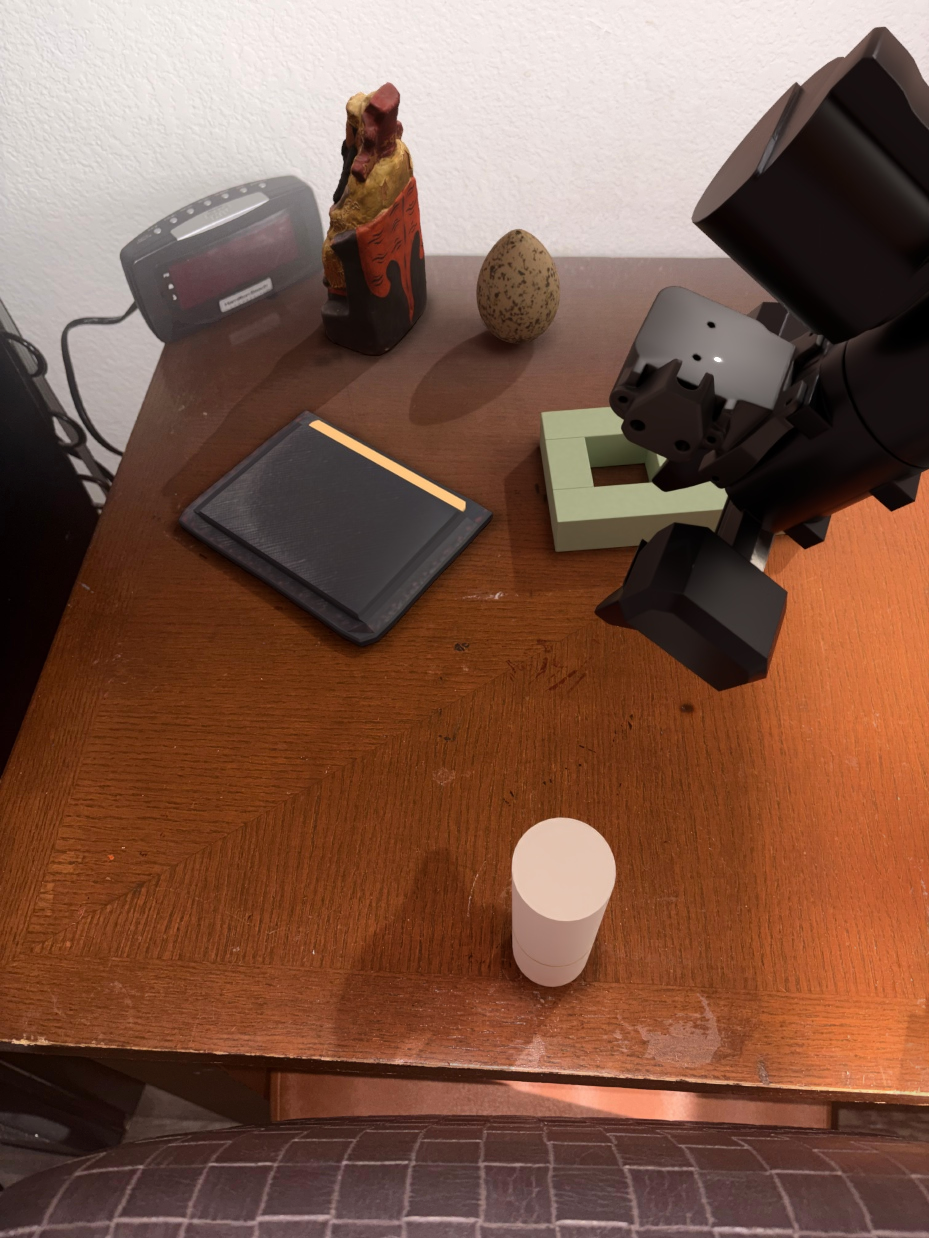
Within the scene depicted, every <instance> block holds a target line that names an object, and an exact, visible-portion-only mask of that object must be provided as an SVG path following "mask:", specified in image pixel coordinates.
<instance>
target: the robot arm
mask: <svg viewBox="0 0 929 1238" xmlns="http://www.w3.org/2000/svg"><path fill="white" fill-rule="evenodd" d="M691 223H692V224H693V225H695V226H696V228H697V229H698V230H700V232H702V233H703V234H704V235H705V236H706V237H707V238H708V239H710V240H711V241H712V242H713V243H714V244H715V245H716V246H717V247H718V248H719V249H720V250H722V251H723V253H725V254H726V255H727V256H728V257H729V258H730V259H731V260H732V261H733V262H734V263H736V265H738V266H739V268H740V269H742V270H743V271H744V272H745V273H746V274H747V275H748V276H750V277H751V279H753V280H754V282H756V284H758V285H759V286H760V287H761V288H762V289H763V290H765V292H767V293H768V294H769V295H770V296H771V297H772V298H773V299H774V300H775V301H762V302H761V303H760V304H758V305H757V306H756V307H754V308H753V309H752V310H751V311H750V312H749V313H747V314H744V313H742V312H740V311H738V310H736V309H733V308H732V307H729V306H726V305H724V304H723V303H720V302H718V301H715V300H713V299H711V298H708V297H707V296H704V295H702V294H700V293H698V292H695V291H694V290H691V289H688V288H686V287H683V286H678V285H677V286H676V285H671V286H666V287H664V288H662V289H660V291H658V292H657V294H656V296H655V297H654V300H653V302H652V304H651V306H650V308H649V310H648V311H647V314H646V316H645V317H644V320H643V322H642V323H641V325H640V328H639V330H638V332H637V333H636V336H635V338H634V339H633V342H632V344H631V347H630V349H629V351H628V353H627V356H626V358H625V360H624V362H623V364H622V367H621V368H620V372H619V373H618V375H617V378H616V380H615V383H614V384H613V387H612V389H611V392H610V394H609V397H608V404H609V407H611V409H612V410H613V412H614V413H615V414H616V415H617V416H618V417H620V418H621V419H623V420H624V421H623V423H622V425H621V430H622V432H623V434H624V436H625V438H626V439H627V440H628V441H630V442H632V443H634V444H636V445H638V446H640V447H643V448H645V449H647V450H649V451H651V452H653V453H656V454H658V455H660V456H662V457H664V458H667V459H666V460H665V461H664V463H663V464H662V465H661V466H660V468H659V469H658V470H657V471H656V473H655V474H654V475H653V478H652V483H653V484H654V485H655V486H656V487H658V488H659V489H660V490H661V491H663V492H670V491H675V490H679V489H684V488H689V487H693V486H696V485H699V484H703V483H706V482H712V483H713V484H714V485H715V486H716V487H718V488H720V489H724V488H725V492H726V494H727V495H728V496H727V499H726V502H725V505H724V507H723V510H722V513H721V515H720V518H719V521H718V524H717V526H716V529H715V532H713V531H712V530H711V529H710V528H709V527H705V526H698V525H691V524H685V523H678V522H674V523H672V524H670V525H668V526H667V527H665V528H663V529H661V530H660V531H658V532H657V533H656V534H655V535H654V536H653V537H652V538H651V540H650V541H649V542H647V541H645V540H644V539H641V541H640V544H639V546H637V549H636V551H635V553H634V556H633V558H632V561H631V563H630V565H629V568H628V570H627V573H626V575H625V577H624V579H623V582H622V585H621V586H619V587H618V588H617V589H615V590H614V591H613V592H611V593H610V594H609V595H607V596H606V597H605V598H604V599H603V600H602V601H600V602H599V603H598V605H596V607H595V609H594V611H593V613H594V615H595V616H596V617H598V619H600V620H602V621H603V622H604V623H606V624H608V625H610V626H614V627H619V628H624V629H628V630H633V631H637V632H638V633H640V634H641V635H642V636H644V637H645V638H646V639H648V640H649V641H650V642H652V643H653V644H654V645H656V646H657V647H658V648H660V649H661V650H662V651H664V652H665V653H666V654H668V656H671V657H672V658H673V660H676V661H677V662H678V663H679V664H681V665H682V666H683V667H685V668H686V669H688V670H689V671H690V672H692V673H693V674H695V675H696V676H697V677H698V678H700V679H701V680H702V681H703V682H705V683H706V684H708V686H710V687H711V688H713V689H714V690H716V692H722V691H726V690H730V689H734V688H738V687H740V686H743V685H744V686H745V685H747V684H751V683H754V682H758V681H761V680H765V679H767V677H768V674H769V670H770V667H771V664H772V661H773V656H774V653H775V650H776V647H777V643H778V641H779V636H780V633H781V629H782V627H783V623H784V620H785V616H786V613H787V605H788V604H787V603H788V590H786V589H785V588H784V587H783V586H782V585H780V584H779V583H778V582H776V581H775V580H774V579H773V578H771V576H769V575H768V574H766V573H765V572H764V571H765V568H766V565H767V562H768V559H769V556H770V553H771V550H772V547H773V544H774V542H775V541H774V540H775V537H776V535H775V534H777V533H779V532H781V531H783V532H784V533H785V534H784V535H786V536H788V537H789V538H790V539H791V540H792V541H794V542H795V543H796V544H797V545H798V546H800V547H801V548H802V549H803V550H807V549H810V548H812V547H815V546H817V545H819V544H822V543H823V542H825V540H826V537H827V533H828V529H829V526H830V522H831V519H832V516H833V515H834V514H836V513H838V512H840V511H842V510H845V509H847V508H850V507H851V506H853V505H856V504H857V503H859V502H863V500H866V499H868V498H870V497H873V498H875V499H876V500H877V501H878V502H879V503H880V504H881V505H883V506H884V507H885V508H886V509H887V510H888V511H889V512H890V513H893V512H894V511H895V512H896V511H897V510H899V509H901V508H904V507H906V506H909V505H910V504H913V503H916V500H917V496H918V491H919V485H920V481H921V476H922V473H924V472H926V471H929V84H928V83H927V81H925V79H924V78H923V75H922V73H921V71H920V69H919V67H918V64H917V63H916V60H915V58H914V57H913V55H912V54H911V53H910V52H909V50H908V49H907V48H906V46H905V45H904V44H902V42H901V41H900V40H899V39H898V38H897V37H896V36H895V34H893V33H892V32H891V31H890V30H889V28H887V26H877V27H876V26H875V27H873V28H872V29H871V30H870V31H869V32H868V33H867V34H866V35H865V36H864V37H863V38H862V39H861V40H860V41H859V42H858V43H857V44H856V45H855V46H854V47H853V48H852V49H851V51H849V53H847V54H846V55H845V57H844V56H837V57H835V58H833V59H832V60H830V61H828V62H827V63H825V64H824V65H823V66H822V67H821V68H819V69H818V70H817V71H815V72H814V73H813V74H812V75H811V76H809V78H807V79H806V80H805V81H804V82H803V83H802V84H799V83H798V81H795V82H794V83H792V85H791V86H790V87H789V88H788V89H787V90H786V91H785V92H784V93H783V94H782V95H781V96H780V97H779V98H777V100H776V101H775V102H774V104H772V106H771V107H769V108H768V110H767V111H766V112H765V113H764V114H763V116H762V117H761V118H760V119H759V120H758V121H757V122H756V123H755V125H754V126H753V127H752V128H751V129H750V131H749V132H748V133H747V134H746V135H745V136H744V137H743V139H742V140H741V141H740V142H739V144H738V145H737V146H736V147H735V149H734V150H733V151H732V152H731V154H730V155H729V156H728V157H727V159H726V160H725V161H724V163H723V164H722V165H721V167H720V168H719V169H718V171H717V172H716V174H715V175H714V177H713V178H712V179H711V181H710V182H709V184H708V185H707V187H706V188H705V190H704V192H703V193H702V194H701V196H700V198H699V199H698V201H697V203H696V205H695V207H694V209H693V211H692V215H691Z"/></svg>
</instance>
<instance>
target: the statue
mask: <svg viewBox="0 0 929 1238" xmlns="http://www.w3.org/2000/svg"><path fill="white" fill-rule="evenodd" d="M400 104H401V93H400V91H399V90H398V89H397V87H396V86H395V85H394V84H393V83H392V82H389V81H386V83H384V84H382V85H381V86H380V87H379V88H378V89H377V90H374V91H371V92H370V93H368V94H365V93H364V92H363V91H360V92H357V93H356V94H355V95H351V96H350V97H349V99H348V100H347V102H346V104H345V111H346V122H345V138H344V139H343V140H342V144H341V147H340V155H341V157H342V161H343V162H342V170H341V173H340V177H339V180H338V183H337V187H336V188H335V191H334V193H332V201H333V204H332V205H331V206H330V207H329V211H328V217H329V227H328V230H327V231H326V237H325V239H324V240H323V243H322V248H321V261H322V262H321V263H322V267H323V276H322V280H321V282H322V285H323V286H324V287H325V288H326V289H327V299H326V300H325V302H324V303H323V305H322V306H321V307H320V315H321V320H322V323H323V326H324V330H325V334H326V336H327V337H328V338H329V340H330V341H331V342H332V343H334V344H335V345H336V344H337V345H339V346H341V347H346V348H347V349H351V350H352V351H354V352H355V351H356V352H360V353H361V354H364V355H369V356H370V355H371V356H379V355H383V354H385V353H386V352H388V351H389V350H391V349H392V348H393V347H394V346H395V345H396V344H398V343H399V342H400V341H401V340H402V338H403V337H404V336H406V334H407V333H408V331H409V330H411V329H412V328H413V326H414V325H415V323H416V322H417V321H418V319H419V318H420V317H421V315H422V314H423V312H424V311H425V308H426V304H427V300H428V294H427V293H428V292H427V291H428V290H427V289H428V287H427V273H426V258H425V257H426V256H425V254H426V253H425V245H424V240H423V233H422V226H421V210H420V204H419V192H418V186H417V179H416V177H415V175H414V163H413V159H412V154H411V152H410V150H409V148H408V146H407V145H406V143H405V142H404V141H403V140H402V137H403V133H404V126H403V124H402V122H401V121H400V120H398V116H399V107H400Z"/></svg>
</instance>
